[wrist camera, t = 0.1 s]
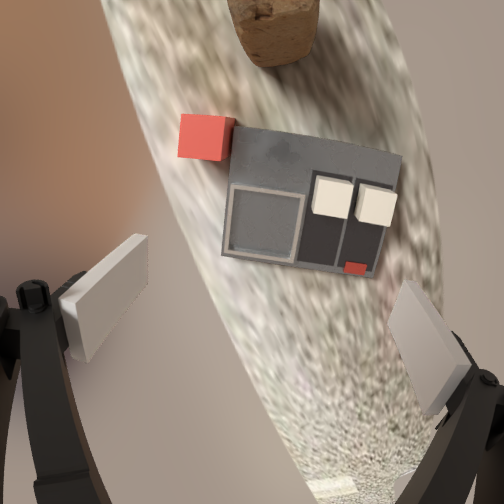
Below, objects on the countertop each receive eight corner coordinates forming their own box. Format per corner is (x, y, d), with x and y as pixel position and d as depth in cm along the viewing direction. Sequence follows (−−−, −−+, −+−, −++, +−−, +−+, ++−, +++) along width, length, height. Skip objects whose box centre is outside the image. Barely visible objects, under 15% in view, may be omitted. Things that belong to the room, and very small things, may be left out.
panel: (238, 126, 39) (232, 125, 35) (394, 153, 38) (405, 157, 34) (224, 247, 45) (219, 259, 41) (367, 268, 44) (374, 282, 40)
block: (310, 66, 35) (332, 15, 16) (252, 73, 36) (223, 29, 17) (294, -4, 31) (299, -88, 12) (238, 3, 32) (203, -74, 13)
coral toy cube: (197, 115, 39) (181, 113, 32) (235, 118, 38) (225, 116, 32) (194, 151, 40) (177, 157, 34) (230, 155, 40) (220, 161, 34)
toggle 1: (316, 175, 37) (319, 179, 34) (348, 180, 37) (353, 185, 34) (311, 206, 38) (313, 213, 36) (342, 212, 38) (346, 219, 35)
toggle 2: (360, 183, 36) (366, 187, 34) (389, 189, 36) (397, 194, 34) (353, 214, 38) (359, 221, 35) (382, 219, 38) (389, 226, 35)
